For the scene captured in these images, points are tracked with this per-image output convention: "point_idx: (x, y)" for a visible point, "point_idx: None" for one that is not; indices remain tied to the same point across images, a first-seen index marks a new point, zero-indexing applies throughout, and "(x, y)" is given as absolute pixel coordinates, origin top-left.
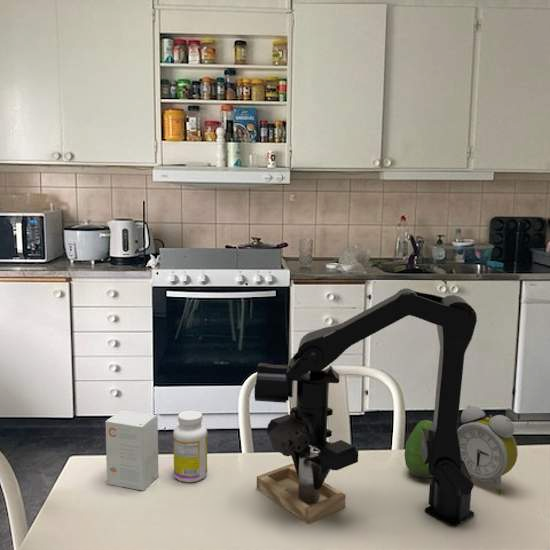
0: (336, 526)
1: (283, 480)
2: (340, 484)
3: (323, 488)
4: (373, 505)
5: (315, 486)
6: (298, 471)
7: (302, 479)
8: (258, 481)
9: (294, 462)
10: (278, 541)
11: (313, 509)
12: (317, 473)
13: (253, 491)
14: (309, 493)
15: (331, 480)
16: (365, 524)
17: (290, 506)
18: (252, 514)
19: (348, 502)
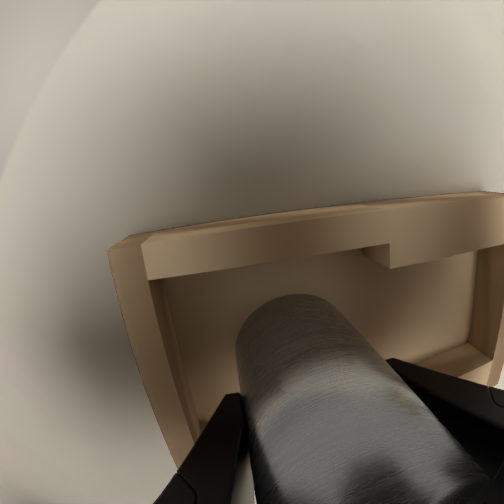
0: (71, 332)
1: (466, 315)
2: None
3: None
4: (157, 491)
5: (225, 404)
6: (416, 382)
7: (317, 364)
8: (502, 194)
9: (483, 393)
10: (93, 44)
11: (115, 282)
12: (168, 493)
13: (475, 167)
14: (250, 348)
15: None
16: (60, 417)
17: (277, 216)
18: (337, 47)
19: None
